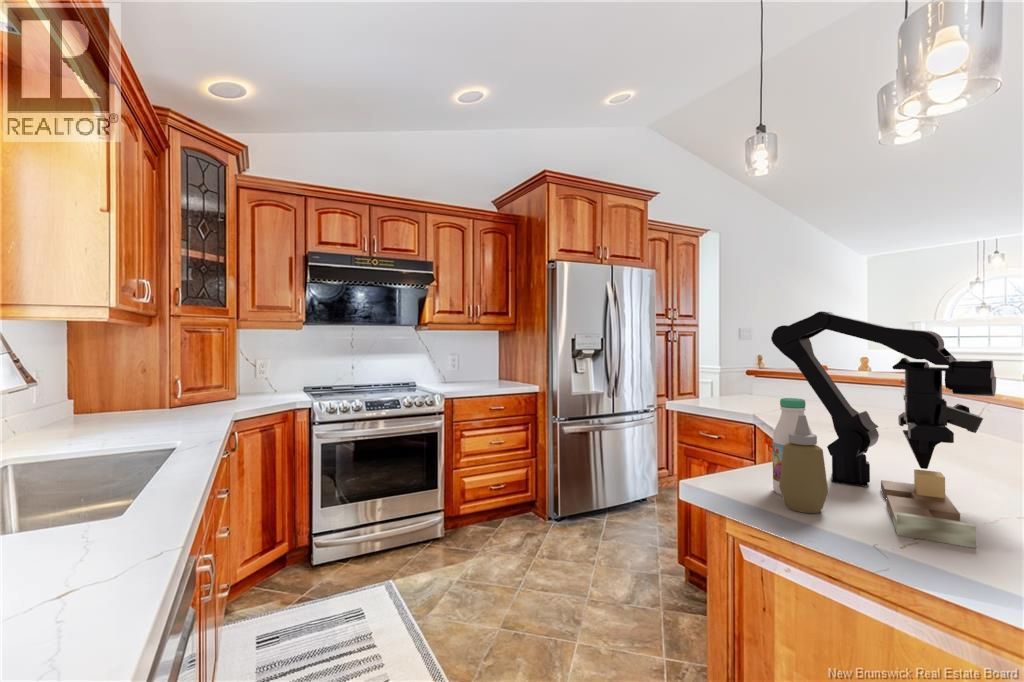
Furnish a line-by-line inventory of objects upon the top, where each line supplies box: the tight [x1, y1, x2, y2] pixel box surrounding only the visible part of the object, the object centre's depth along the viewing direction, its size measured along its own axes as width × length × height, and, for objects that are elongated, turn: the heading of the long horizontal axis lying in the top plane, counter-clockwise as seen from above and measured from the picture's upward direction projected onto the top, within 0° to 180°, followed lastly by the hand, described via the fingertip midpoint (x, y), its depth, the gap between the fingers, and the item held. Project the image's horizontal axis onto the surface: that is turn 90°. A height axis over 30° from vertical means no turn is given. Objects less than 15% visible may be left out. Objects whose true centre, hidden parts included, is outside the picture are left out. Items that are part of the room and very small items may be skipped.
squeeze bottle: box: [779, 414, 829, 514], centre depth 91 cm, size 8×8×18 cm
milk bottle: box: [772, 397, 813, 496], centre depth 99 cm, size 8×8×20 cm
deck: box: [880, 479, 977, 549], centre depth 87 cm, size 10×27×3 cm, turn 146°
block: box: [913, 469, 946, 498], centre depth 92 cm, size 4×4×4 cm
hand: (923, 468), depth 96 cm, fingers closed
